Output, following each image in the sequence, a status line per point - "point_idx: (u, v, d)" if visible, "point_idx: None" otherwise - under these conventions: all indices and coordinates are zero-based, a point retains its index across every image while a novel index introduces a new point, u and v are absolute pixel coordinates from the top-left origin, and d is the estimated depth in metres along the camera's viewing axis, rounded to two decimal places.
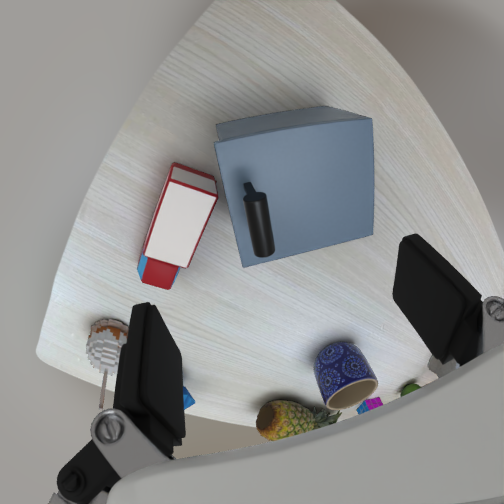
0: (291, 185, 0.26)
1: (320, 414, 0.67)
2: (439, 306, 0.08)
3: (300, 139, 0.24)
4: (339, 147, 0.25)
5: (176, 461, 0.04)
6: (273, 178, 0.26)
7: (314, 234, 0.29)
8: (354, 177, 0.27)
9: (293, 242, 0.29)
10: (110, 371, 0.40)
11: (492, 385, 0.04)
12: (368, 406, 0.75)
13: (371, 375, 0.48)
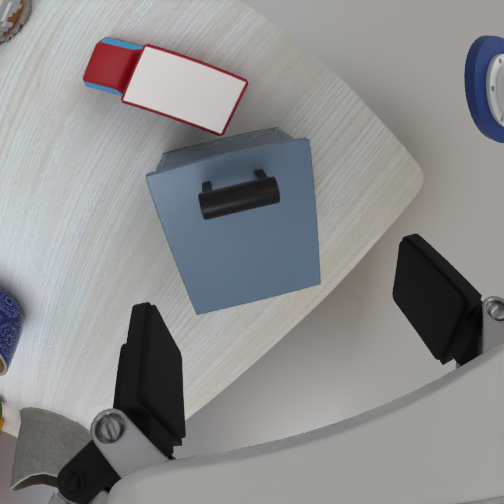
0: (256, 220, 0.24)
1: None
2: (439, 306, 0.08)
3: (305, 223, 0.25)
4: (294, 260, 0.27)
5: (176, 461, 0.04)
6: None
7: (194, 254, 0.25)
8: (263, 281, 0.28)
9: (184, 232, 0.24)
10: None
11: (492, 385, 0.04)
12: None
13: (8, 365, 0.30)
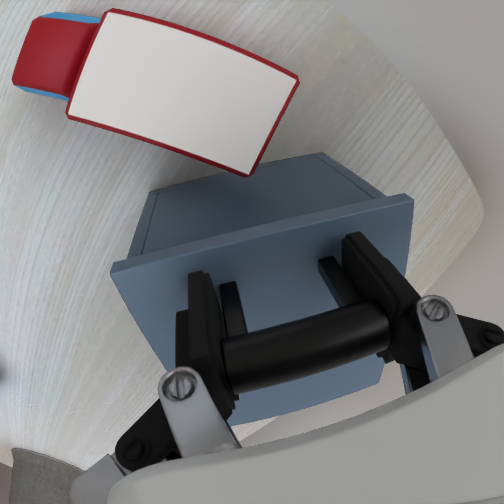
0: None
1: None
2: None
3: None
4: (354, 367, 0.17)
5: (176, 461, 0.04)
6: (329, 303, 0.13)
7: None
8: (306, 393, 0.18)
9: None
10: None
11: (492, 385, 0.04)
12: None
13: None
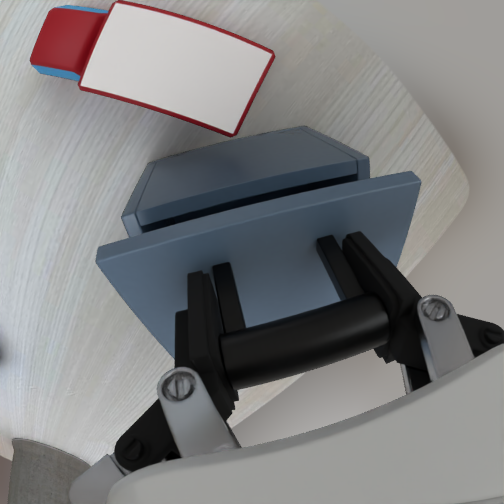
0: (303, 301, 0.14)
1: None
2: None
3: None
4: None
5: (176, 461, 0.04)
6: (324, 277, 0.13)
7: None
8: None
9: None
10: None
11: (492, 385, 0.04)
12: None
13: None
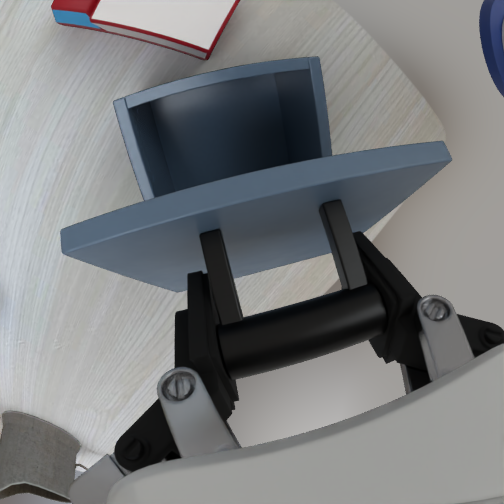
0: (291, 238, 0.13)
1: None
2: None
3: (361, 226, 0.15)
4: (323, 247, 0.18)
5: (176, 461, 0.04)
6: (318, 223, 0.12)
7: (178, 274, 0.15)
8: (273, 264, 0.20)
9: (161, 269, 0.13)
10: None
11: (492, 385, 0.04)
12: None
13: None
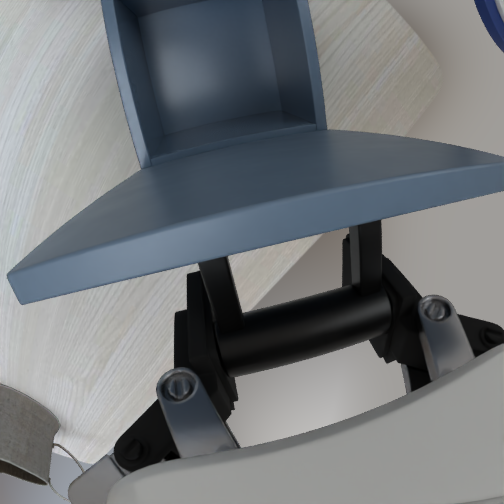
0: None
1: None
2: None
3: None
4: None
5: (176, 461, 0.04)
6: None
7: None
8: None
9: None
10: None
11: (492, 385, 0.04)
12: None
13: None
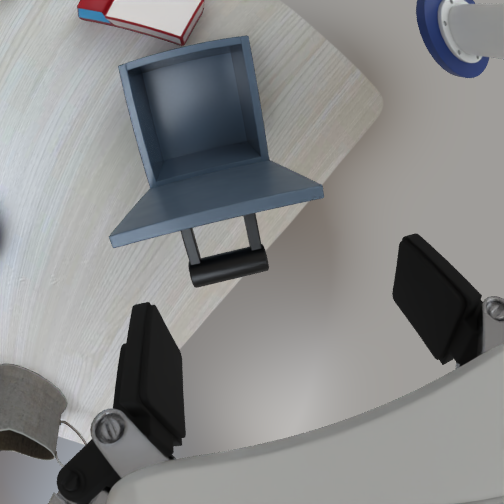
0: None
1: None
2: (439, 306, 0.08)
3: None
4: None
5: (176, 461, 0.04)
6: None
7: None
8: None
9: None
10: None
11: (492, 385, 0.04)
12: None
13: None
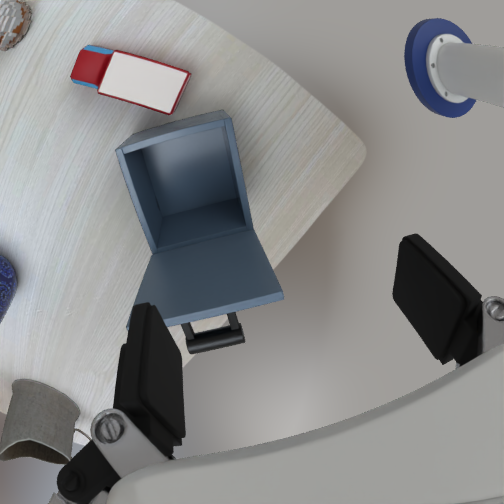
0: None
1: None
2: (439, 306, 0.08)
3: None
4: None
5: (176, 461, 0.04)
6: None
7: None
8: None
9: None
10: None
11: (492, 385, 0.04)
12: None
13: (1, 318, 0.35)
